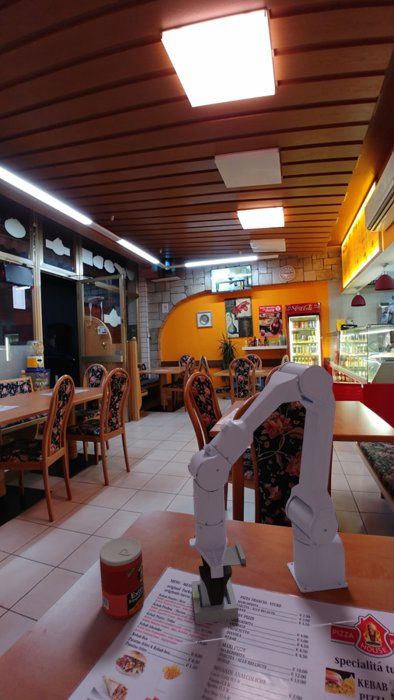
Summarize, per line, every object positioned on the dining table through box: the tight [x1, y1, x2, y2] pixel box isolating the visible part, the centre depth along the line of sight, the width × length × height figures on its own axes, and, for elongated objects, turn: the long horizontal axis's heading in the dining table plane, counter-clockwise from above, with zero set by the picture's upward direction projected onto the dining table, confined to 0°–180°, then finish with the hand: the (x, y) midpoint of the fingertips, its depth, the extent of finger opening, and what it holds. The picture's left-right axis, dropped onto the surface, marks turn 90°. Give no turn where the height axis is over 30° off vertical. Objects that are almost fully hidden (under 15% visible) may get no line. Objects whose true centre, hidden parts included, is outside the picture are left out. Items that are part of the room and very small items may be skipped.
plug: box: [198, 573, 226, 608], centre depth 63 cm, size 4×4×7 cm
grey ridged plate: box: [223, 540, 247, 567], centre depth 77 cm, size 7×6×1 cm
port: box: [191, 578, 239, 625], centre depth 64 cm, size 8×8×2 cm
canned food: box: [99, 536, 145, 620], centre depth 65 cm, size 8×8×11 cm
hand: (213, 587), depth 63 cm, fingers open, 7 cm apart
